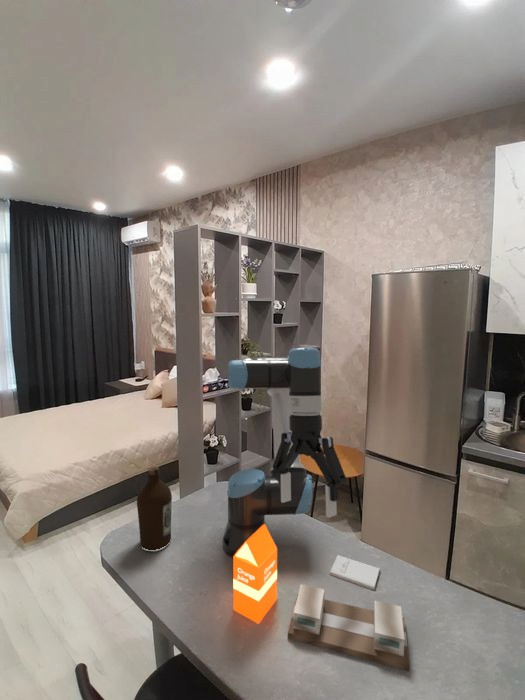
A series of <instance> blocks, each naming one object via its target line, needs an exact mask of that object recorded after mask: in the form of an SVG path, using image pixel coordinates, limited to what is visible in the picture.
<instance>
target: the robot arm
mask: <svg viewBox="0 0 525 700" xmlns="http://www.w3.org/2000/svg"><path fill="white" fill-rule="evenodd" d="M321 365H322V361H321V353H320V350H319V349H318V348H315V347H296V348H291V349H290V350H288V355H284V356H253V357H252V356H251V357H249V358H243V359H236V360H229V362H228V367H227V370H228V371H227V372H228V373H227V375H228V376H227V378H228V379H227V380H228V381H227V382H228V384H227V385H228V387H229V388H231V389H235V390H237V389H239V390H247V389H248V390H253V389H256V390H257V389H267V391H266V392H267V394H268V395H269V396H270V397H271V405H272V407H271V408H272V409H271V410H272V429H273V431H272V432H273V433H272V434H273V453H274V455H273V456H274V461H273V464H272V467H271V469H270V475H266V474H265V473H264V471H262V470H261V469H257V468H245V469H242V470H238V471H237V472H235V473H234V474H232V475H231V476H230V477H229V480H228V483H227V492H226V493H227V495H226V496H227V523H226V527H225V529H224V533H223V536H222V549H223V548H224V549H223V550H225V551H224V552H225V553H226V554H227V555H228V556H230V557H232V558H233V556H234V555H235V554H236V553H238V552H237V551H238V550H239V549H240V548H241V546H242V545H243V544H244V543H245V542H246V541H247V540H248V539H249V538H250V537H251V536H252V535H253V534H254V533H255V532H256V531H257V530H258V529H259V528H260V527H261V526H262V525H263V524H265V525H266V527H267V523H266V521H265V520H266V519H265V516H283V515H293V516H296V515H302V514H303V515H304V514H306V513H308V512H309V511H310V509H311V506H312V500H313V478H312V475H311V474H309V473H307V469H306V467H305V466H304V465H303V464H302V463H301V461H302V460H301V455H304V456H307V457H310V458H311V459H312V460H313V461H314V462H315V463H316V465H317V467H318V469H319V470H320V472H321V474H322V475H323V477H324V479H325V480H326V482H327V484H326V485H324V486H325V487H324V488H325V490H324V491H325V518H332V517H334V516H337V515H338V512H337V509H338V508H337V501H339V499H340V498H339V497H340V496H339V495H340V491H339V486H340V485H341V484H345V483H347V477H346V475H345V472H344V469H343V467H342V464H341V462H340V459H339V457H338V455H337V452H336V450H335V447H334V439H333V437H332V436H328V437H322V435H321V432H322V431H323V416H322V415H321V414H320V413H322V412H323V409H322V408H323V405H322V404H323V403H322V386H321V385H322V384H321V382H322V381H321V377H322V376H321V375H322V372H321V371H322V369H321ZM267 528H268V527H267Z"/></svg>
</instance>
